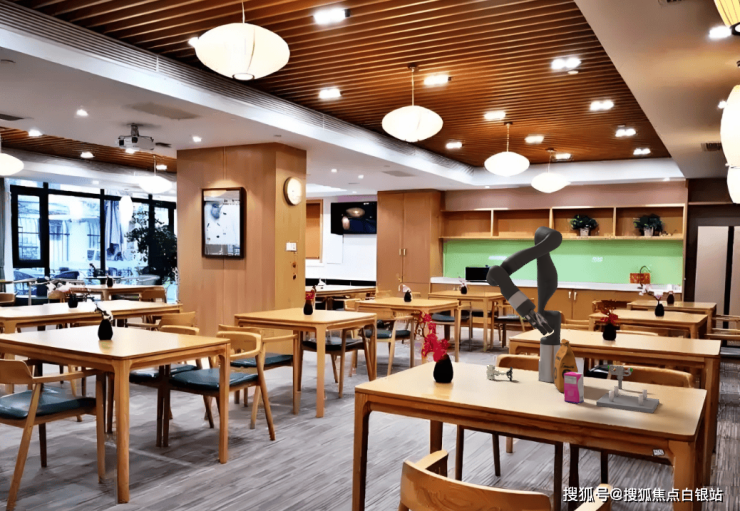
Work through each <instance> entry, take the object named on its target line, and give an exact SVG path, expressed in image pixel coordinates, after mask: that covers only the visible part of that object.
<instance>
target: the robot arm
mask: <svg viewBox="0 0 740 511" xmlns="http://www.w3.org/2000/svg"><path fill="white" fill-rule="evenodd" d="M533 241H534V243H533V244H534V245H533V246H530V247H527V248H523V249H520V250H518V251H515V252H513V253H511V255H509V256H508V257H507V258H505V259H504V260H503V261H502V262H501V264H500V265H491V267H490V268H489V269H488V272H487V273H486V279H485V280H486V282H487V284H488V285H489V286H490V287H491V286H492V287H499V289H500V294H501V296H502V297H503V298H504V299H505V300H506V301H507V302H508V303H509V305H510V306H511V308H513V309H514V311H515V312H516V313H517V314H518V315H519V316H520V317H521V318H522V319H525V320H526V321H527V322H528V323H529V324H530V325H531V326H532V328H534V329H536V330H538V331H539V332H540V334H541V335H542V337H540V340H539V345H540V346H539V347H540V348H539V359H538V381H541V382H546V383H555V380H554V367H555V356H556V353H557V352H558V350H559V349H560V347H561V329H562V313H561V311H560V310H549V309H546V306H547V304H548V302H549V300H550V299H551V298H552V297H553V295H554V294H555V293H556V291H557V290H558V284H559V278H558V277H559V275H558V271H557V268H556V266H555V263H554V261H553V259H552V257H551V252H553V251H555V250H557V249H558V248H559V247H560V246H561V244H562V243H563V235H562V233H561V232H560V231H558V230H557V229H554V228H551V227H548V226H539V227H538V228H537V229H536V230H535V232H534V238H533ZM534 260H536V286H537V287H536V288H537V289H536V290H537V305H536V304H535V303H534V302H533V301H532V300H531V298H529V297H528V296H527V295H526V294H525V292H523V291H522V290H521V289H520V288H519V287H518V286H517V285H516V284H515V283H514V282H513V279H512V278H511V277H510V276H512V275H514V273H516V272H518V271H519V270H520V269H522V268H523V267H524V266H526V265H527V264H529V263H531V262H532V261H534ZM536 306H537V307H536ZM536 308H537V311H535V309H536ZM548 334H549V335H548Z"/></svg>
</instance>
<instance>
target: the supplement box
mask: <svg viewBox="0 0 740 511" xmlns="http://www.w3.org/2000/svg"><path fill="white" fill-rule="evenodd" d="M584 384H585V383H584V373H583V372H578V373H576V372H568V373H565V374H564V392H563V395H564V397H563V398H564V401H563V402H565V403H569V402H570V403H569V404H575V403H576V405H578V404H582V403H583V402H585V398H584V395H585V394H584V390H585V388H584V387H585V386H584Z"/></svg>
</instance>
